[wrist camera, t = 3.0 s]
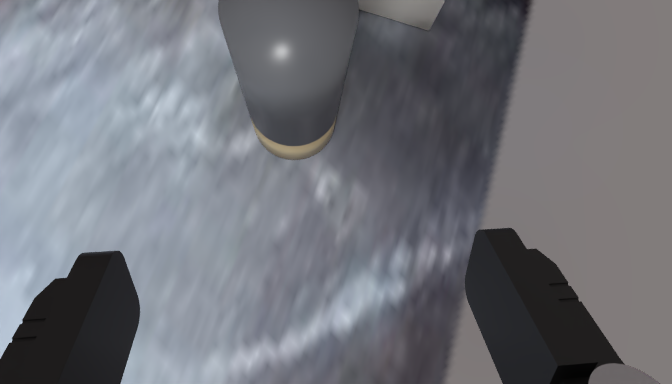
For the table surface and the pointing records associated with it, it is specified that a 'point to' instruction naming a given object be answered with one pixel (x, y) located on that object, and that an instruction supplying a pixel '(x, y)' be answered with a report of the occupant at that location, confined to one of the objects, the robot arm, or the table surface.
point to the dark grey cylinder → (291, 67)
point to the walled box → (405, 10)
